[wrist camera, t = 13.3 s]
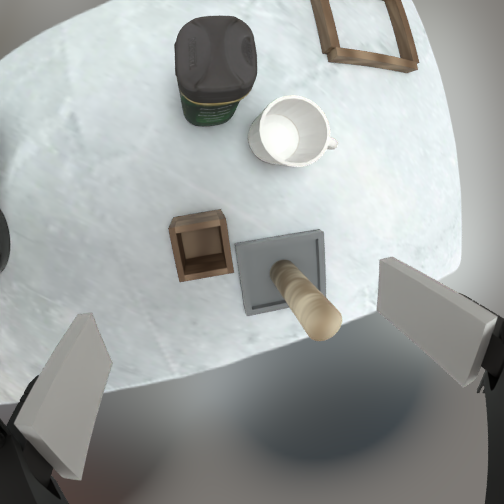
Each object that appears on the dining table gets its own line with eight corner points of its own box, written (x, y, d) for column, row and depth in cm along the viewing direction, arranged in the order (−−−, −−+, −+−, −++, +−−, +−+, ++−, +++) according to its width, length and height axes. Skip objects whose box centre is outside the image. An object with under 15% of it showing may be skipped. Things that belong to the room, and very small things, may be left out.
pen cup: (182, 262, 44) (179, 282, 37) (173, 217, 42) (168, 228, 35) (227, 254, 45) (234, 272, 38) (220, 209, 43) (225, 218, 36)
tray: (245, 311, 49) (246, 316, 47) (234, 243, 45) (236, 246, 43) (322, 294, 51) (326, 298, 49) (319, 229, 47) (323, 231, 45)
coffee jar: (237, 124, 40) (266, 94, 22) (184, 129, 39) (174, 101, 21) (232, 66, 37) (257, 7, 20) (180, 70, 36) (171, 11, 18)
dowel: (271, 287, 48) (307, 345, 32) (268, 262, 46) (305, 312, 30) (296, 282, 48) (341, 335, 32) (294, 257, 47) (342, 303, 31)
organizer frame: (324, 61, 39) (333, 55, 36) (304, -21, 33) (311, -31, 30) (409, 73, 42) (420, 70, 38) (388, -3, 36) (397, -9, 32)
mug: (239, 160, 42) (252, 157, 32) (251, 104, 39) (267, 86, 30) (307, 175, 44) (337, 178, 34) (318, 122, 42) (349, 112, 32)
